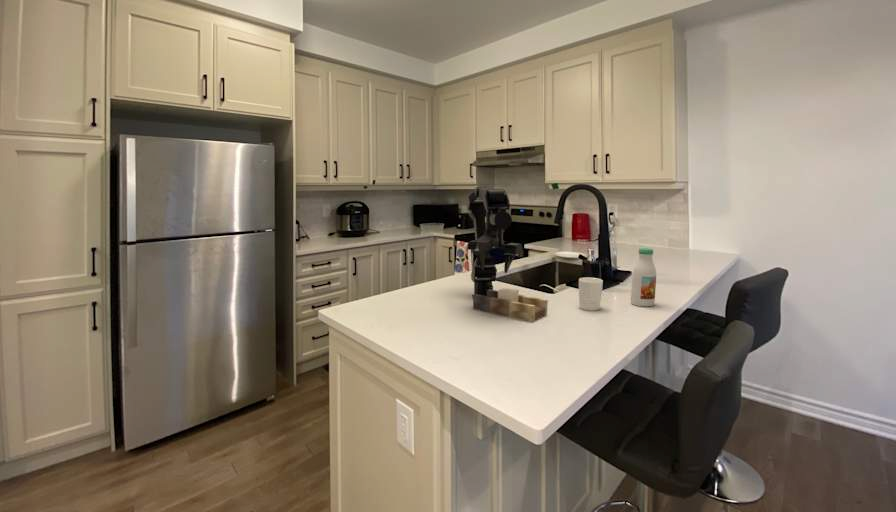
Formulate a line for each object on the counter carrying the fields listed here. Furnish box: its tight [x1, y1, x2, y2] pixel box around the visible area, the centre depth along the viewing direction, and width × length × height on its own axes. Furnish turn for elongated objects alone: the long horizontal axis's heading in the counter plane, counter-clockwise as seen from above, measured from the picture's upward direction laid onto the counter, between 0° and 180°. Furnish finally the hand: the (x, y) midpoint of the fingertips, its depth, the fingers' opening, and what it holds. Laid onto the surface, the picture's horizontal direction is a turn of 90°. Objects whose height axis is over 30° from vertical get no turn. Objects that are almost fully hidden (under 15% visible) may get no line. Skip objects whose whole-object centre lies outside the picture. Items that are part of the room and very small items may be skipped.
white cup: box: [578, 276, 604, 311], centre depth 145 cm, size 8×8×10 cm
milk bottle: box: [630, 247, 657, 308], centre depth 148 cm, size 8×8×20 cm
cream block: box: [497, 287, 520, 302], centre depth 142 cm, size 5×5×5 cm
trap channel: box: [472, 289, 549, 323], centre depth 142 cm, size 23×10×5 cm, turn 51°
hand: (493, 271), depth 145 cm, fingers open, 9 cm apart
